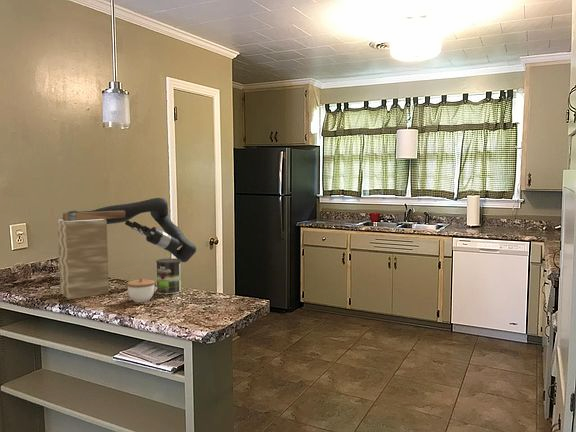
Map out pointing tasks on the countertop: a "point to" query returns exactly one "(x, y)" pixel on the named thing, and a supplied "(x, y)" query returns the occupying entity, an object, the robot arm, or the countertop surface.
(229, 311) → the countertop surface
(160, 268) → the coffee can
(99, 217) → the tan wooden plank
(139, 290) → the lidded jar
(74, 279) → the stand
